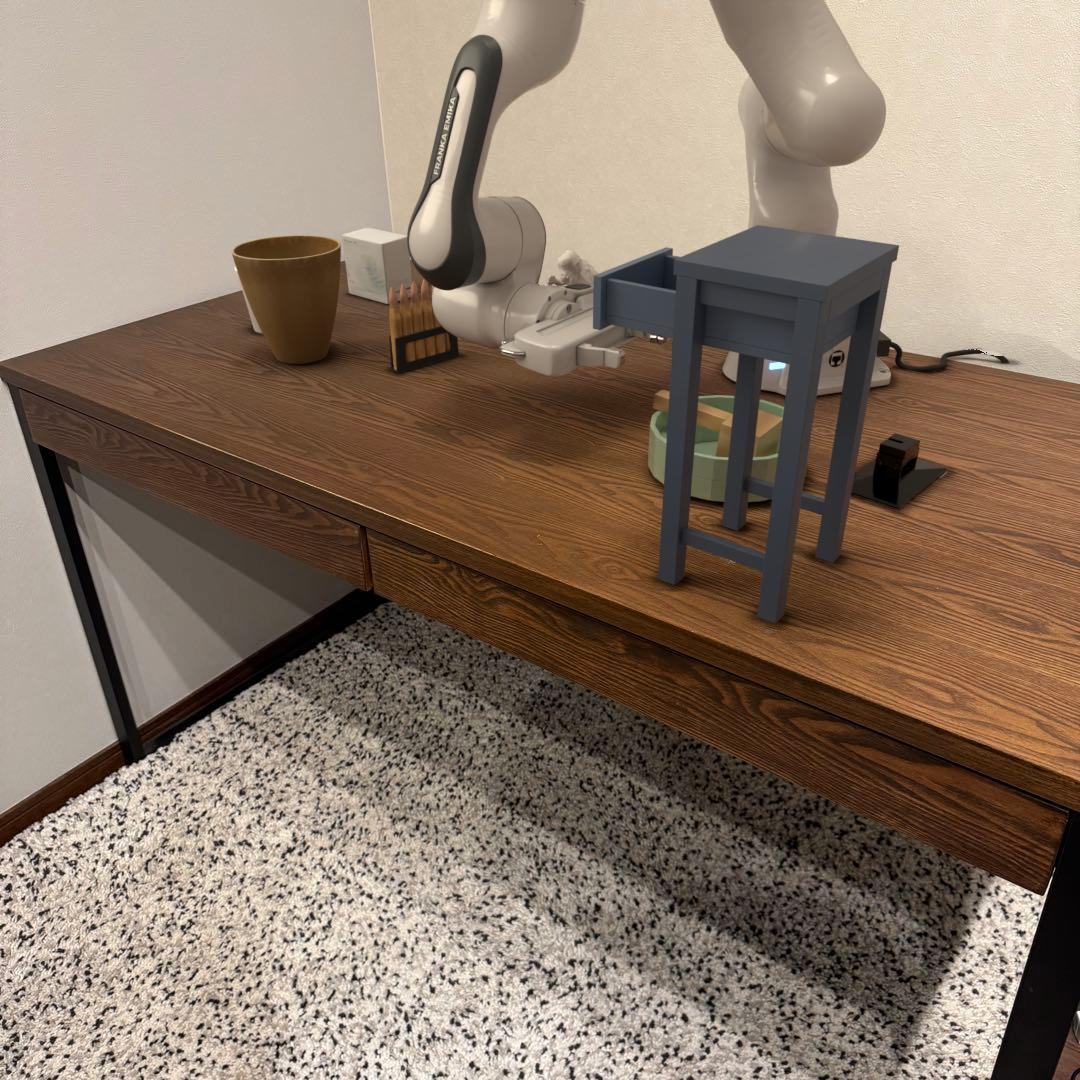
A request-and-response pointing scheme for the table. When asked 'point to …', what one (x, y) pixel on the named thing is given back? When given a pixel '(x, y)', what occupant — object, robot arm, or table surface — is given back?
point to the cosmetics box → (377, 263)
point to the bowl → (710, 452)
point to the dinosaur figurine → (573, 270)
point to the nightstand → (758, 375)
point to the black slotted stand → (895, 473)
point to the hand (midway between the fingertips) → (644, 347)
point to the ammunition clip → (417, 331)
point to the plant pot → (292, 292)
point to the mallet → (722, 423)
